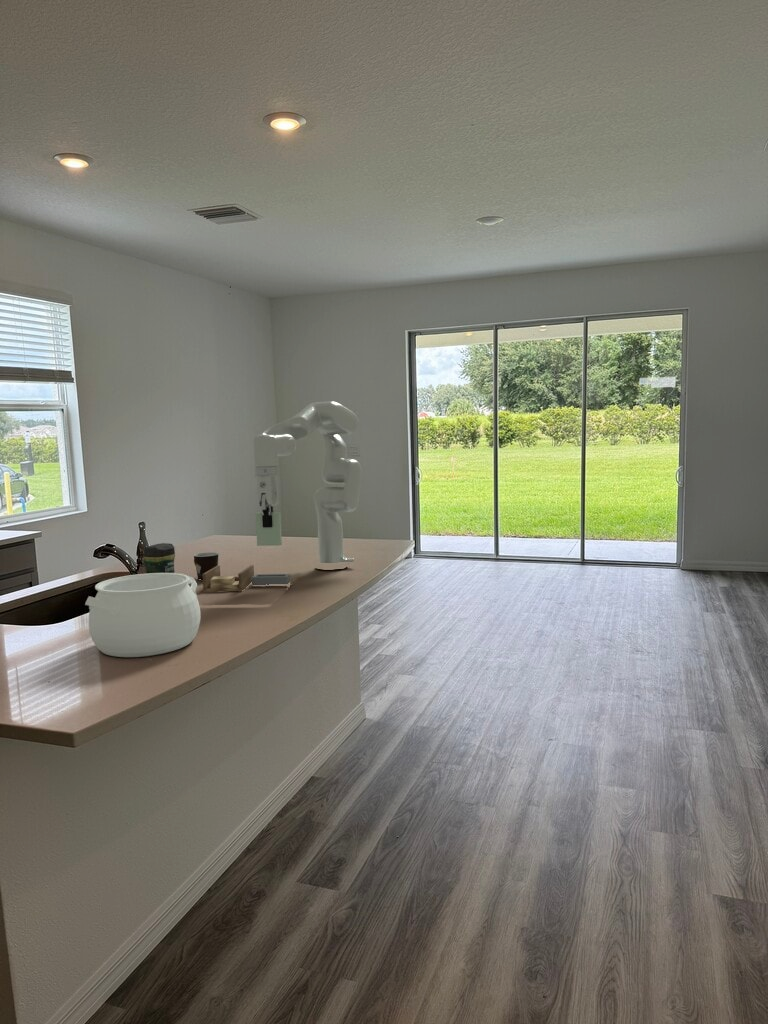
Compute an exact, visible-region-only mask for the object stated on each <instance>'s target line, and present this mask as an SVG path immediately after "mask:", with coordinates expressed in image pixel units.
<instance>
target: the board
mask: <svg viewBox="0 0 768 1024" xmlns="http://www.w3.org/2000/svg"><path fill="white" fill-rule="evenodd" d="M271 515H272V527H263V522H262V512H255V523H256V524H255V526H256V527H255V528H256V529H255V530H256V546H257V547H260V546H261V547H264V546H265V547H266V546H267V547H268V546H269V547H271V546H274V547H275V546H282V545H283V544H282V543H283V540H282V513H281V512H279V511H278V512H277V511H276V512H275V511H274V512H271Z"/></svg>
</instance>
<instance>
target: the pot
mask: <svg viewBox="0 0 768 1024" xmlns="http://www.w3.org/2000/svg"><path fill="white" fill-rule="evenodd" d="M197 587H198V583H197V581H196V580H195V579H194V577H192V576H189V575H187V574H182V573H148V574H146V573H139V574H130V575H129V574H128V575H124V576H119V577H118V576H117V577H113V578H109V579H106V580H102V581H100V582H98V583H97V584H95V586H94V589H95V590H96V591H97V593H96V595H95V597H93V596H89V595H88V597H87V599H86V601H85V604H84V605H85V606H88V609H89V611H88V630H89V635H90V637H91V640H92V642H93V643H94V645H95V646H96V648H97V649H98V650H99V651H100V652H102V653H103V655H107V656H111V657H118V658H142V657H143V658H145V657H153V656H157V655H158V656H159V655H163V654H167V653H171V652H173V651H177V650H180V649H182V648H184V647H187V646H188V645H189V644H191V643H192V641H194V639H195V637H196V636H197V634H198V631H199V627H200V624H201V606H200V603H199V600H198V594H197V592H196V589H197Z"/></svg>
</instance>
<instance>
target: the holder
mask: <svg viewBox="0 0 768 1024" xmlns="http://www.w3.org/2000/svg"><path fill="white" fill-rule="evenodd" d="M290 581H291V573H257V574H256V573H255V574H254V576H253V577H252V585H266V584H267V585H269V584H288V583H289V582H290ZM252 585H251V586H252Z"/></svg>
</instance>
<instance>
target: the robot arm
mask: <svg viewBox="0 0 768 1024" xmlns="http://www.w3.org/2000/svg"><path fill="white" fill-rule="evenodd" d="M358 428H359V418H358V416H357V415H356V413H354V411H352V410H350V409H349V408H347V407H345V406H344V405H342V404H341V403H339V402H336V401H316V402H311V403H310V404H307V405H306V406H305V407H304V408H303V409H302V410H300V411H299V412H298V413H297V414H296V415H294V416H292V417H291V418H289V419H285V420H283V421H281V422H279V423H276V424H274V425H272V426H269V427H268V428H267V429H265V430H264V431H263V432H262V433H260V434H257V435H255V436H254V437H253V460H254V463H253V464H254V477H256V478H257V503H258V504H257V505H258V506H259V507H261V508H260V509H261V513H262V522H263V527H272V515H271V512H275V510H274V506H277V505H278V504H279V503H280V501H279V487H278V480H277V477H278V476H279V473H278V472H279V471H278V457H288V456H291V455H293V454H294V453H295V452H296V450H297V446H298V445H297V441H300V440H303V439H306V438H307V437H309V436H310V435H311V434H313V432H315V431H316V430H317V431H318V433H319V435H320V436H321V438H322V441H323V444H324V454H323V461H322V462H323V463H322V469H321V479H322V480H323V482H324V483H326V484H330V485H332V484H333V485H343V486H321V487H320V488H318V489H317V490H316V491H315V493H314V494H313V502H314V507H315V511H316V517H317V518H316V519H317V540H318V541H317V542H318V543H317V544H318V563H319V562H320V563H338V562H355V563H356V560H355V559H356V558H353V557H352V558H351V557H348V558H347V557H346V555H345V554H344V535H343V533H344V531H343V528H344V527H343V521H342V518H341V516H340V514H339V513H351V512H352V513H353V512H354V511H356V509H357V508H358V506H359V501H360V495H361V487H362V480H363V469H362V466H361V463H360V462H359V461H358V460H356V459H355V458H354V459H352V458H347V444H346V442H345V441H344V439H343V438H342V437H341V435H352V434H354V433H356V432H357V430H358Z"/></svg>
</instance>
